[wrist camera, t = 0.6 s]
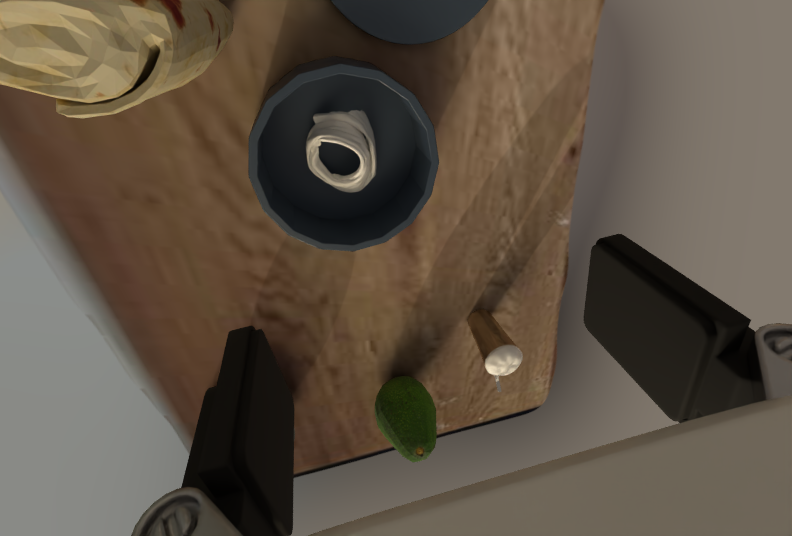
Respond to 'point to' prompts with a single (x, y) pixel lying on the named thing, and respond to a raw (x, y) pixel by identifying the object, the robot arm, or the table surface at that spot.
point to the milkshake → (494, 345)
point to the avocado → (407, 417)
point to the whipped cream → (350, 134)
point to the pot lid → (409, 17)
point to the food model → (108, 49)
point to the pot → (341, 156)
